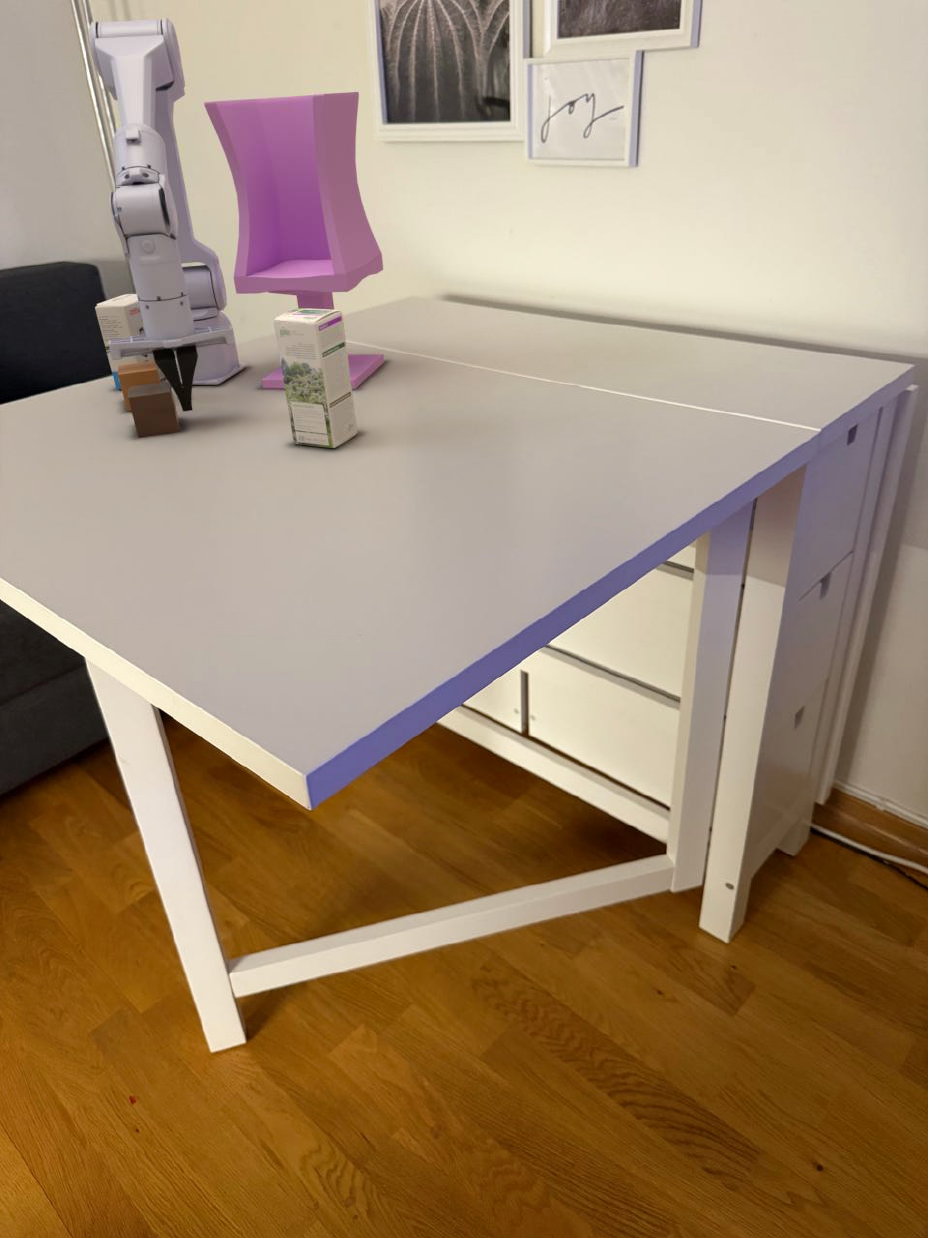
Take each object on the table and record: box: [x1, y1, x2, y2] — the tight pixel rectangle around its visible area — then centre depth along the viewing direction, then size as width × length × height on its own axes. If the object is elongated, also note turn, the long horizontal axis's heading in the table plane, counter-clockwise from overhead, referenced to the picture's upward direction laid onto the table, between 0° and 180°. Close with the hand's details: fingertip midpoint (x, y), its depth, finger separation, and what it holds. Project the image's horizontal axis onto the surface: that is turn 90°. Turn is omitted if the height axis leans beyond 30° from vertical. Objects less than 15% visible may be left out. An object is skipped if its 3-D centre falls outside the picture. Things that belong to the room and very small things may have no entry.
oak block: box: [118, 361, 162, 412], centre depth 121 cm, size 5×5×5 cm
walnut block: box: [128, 381, 181, 438], centre depth 112 cm, size 5×5×5 cm
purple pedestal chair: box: [203, 91, 385, 390], centre depth 121 cm, size 16×16×35 cm
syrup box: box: [273, 308, 358, 449], centre depth 102 cm, size 6×6×14 cm
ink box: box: [94, 293, 166, 390], centre depth 130 cm, size 9×5×12 cm, turn 168°
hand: (187, 408), depth 113 cm, fingers closed
